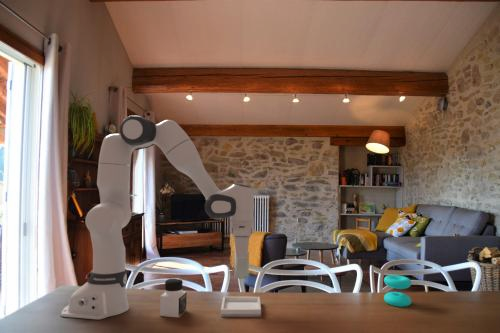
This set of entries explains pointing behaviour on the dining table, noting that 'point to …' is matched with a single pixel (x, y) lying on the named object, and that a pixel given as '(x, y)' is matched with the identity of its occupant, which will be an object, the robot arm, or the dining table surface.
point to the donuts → (397, 297)
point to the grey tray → (241, 307)
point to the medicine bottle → (173, 299)
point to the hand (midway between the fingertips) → (241, 265)
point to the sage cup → (241, 272)
